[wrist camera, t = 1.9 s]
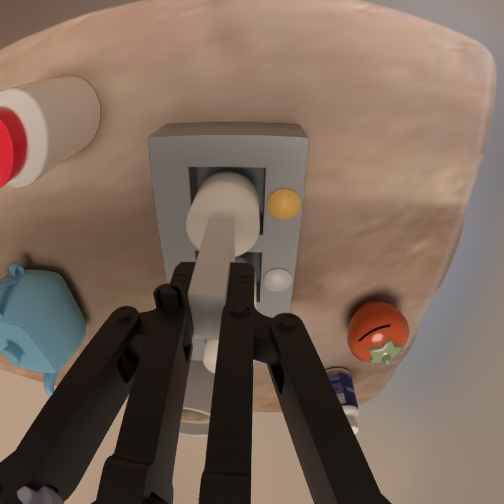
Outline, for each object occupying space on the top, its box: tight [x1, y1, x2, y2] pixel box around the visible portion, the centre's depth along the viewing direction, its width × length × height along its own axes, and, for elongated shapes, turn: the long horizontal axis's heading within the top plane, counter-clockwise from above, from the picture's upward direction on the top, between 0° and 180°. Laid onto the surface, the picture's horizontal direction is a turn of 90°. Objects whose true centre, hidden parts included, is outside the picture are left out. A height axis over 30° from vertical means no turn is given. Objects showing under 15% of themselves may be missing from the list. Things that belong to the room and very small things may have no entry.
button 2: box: [186, 171, 260, 257], centre depth 21 cm, size 5×5×4 cm
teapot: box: [0, 263, 86, 398], centre depth 31 cm, size 12×18×12 cm
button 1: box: [203, 339, 254, 374], centre depth 29 cm, size 5×5×4 cm
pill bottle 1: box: [0, 76, 101, 188], centre depth 18 cm, size 8×8×11 cm
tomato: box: [347, 301, 409, 365], centre depth 32 cm, size 7×7×8 cm
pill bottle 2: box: [325, 368, 359, 434], centre depth 39 cm, size 6×6×10 cm
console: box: [148, 122, 309, 363], centre depth 28 cm, size 11×24×5 cm, turn 179°
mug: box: [179, 360, 215, 436], centre depth 37 cm, size 11×10×10 cm
